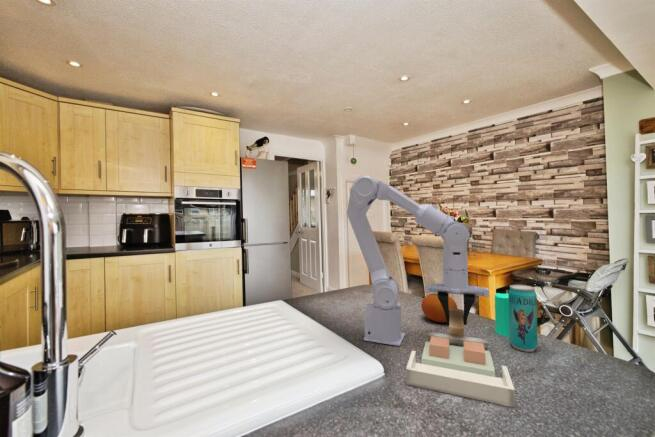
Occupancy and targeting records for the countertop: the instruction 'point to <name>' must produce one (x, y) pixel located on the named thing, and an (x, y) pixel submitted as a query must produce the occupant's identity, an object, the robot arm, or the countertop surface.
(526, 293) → the beverage can
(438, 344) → the tile left
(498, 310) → the candle
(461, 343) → the scraper
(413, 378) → the tray
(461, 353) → the board
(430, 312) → the fruit
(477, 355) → the tile right
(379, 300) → the robot arm
